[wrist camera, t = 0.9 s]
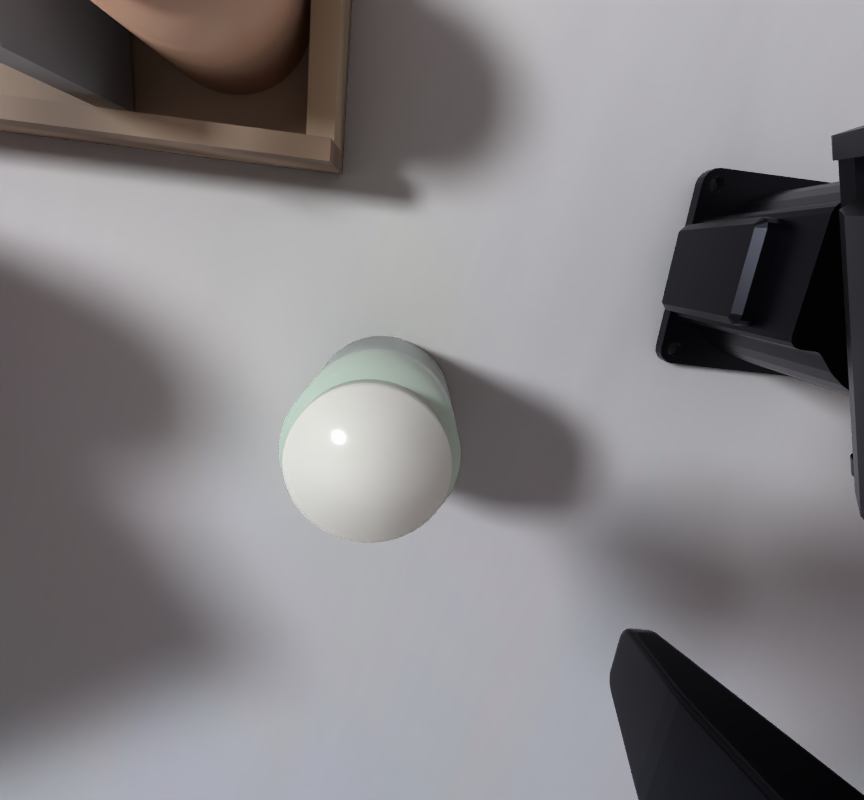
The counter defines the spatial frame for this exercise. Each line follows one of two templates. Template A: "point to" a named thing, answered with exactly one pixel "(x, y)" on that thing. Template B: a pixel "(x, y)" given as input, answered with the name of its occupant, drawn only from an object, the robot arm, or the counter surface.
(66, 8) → the bar
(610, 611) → the counter surface
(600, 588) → the counter surface
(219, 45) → the terracotta jar
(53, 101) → the wooden tray
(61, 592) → the counter surface
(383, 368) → the sage jar
